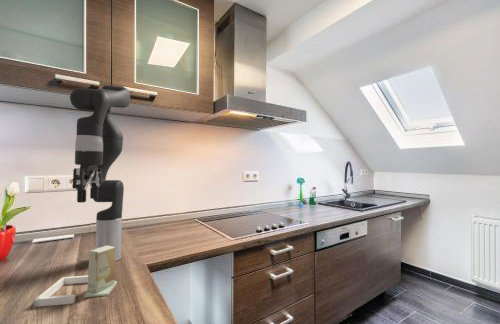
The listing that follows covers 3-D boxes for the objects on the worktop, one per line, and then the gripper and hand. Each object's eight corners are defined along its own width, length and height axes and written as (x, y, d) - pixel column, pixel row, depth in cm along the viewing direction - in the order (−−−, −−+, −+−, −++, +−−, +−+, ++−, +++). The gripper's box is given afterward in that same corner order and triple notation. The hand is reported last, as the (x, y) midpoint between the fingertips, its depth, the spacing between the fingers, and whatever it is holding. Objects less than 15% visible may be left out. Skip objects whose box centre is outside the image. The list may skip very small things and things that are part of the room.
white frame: (62, 283, 79) (62, 277, 79) (94, 280, 81) (94, 274, 81) (34, 307, 65) (34, 299, 65) (73, 303, 67) (73, 296, 67)
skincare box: (96, 293, 71) (97, 252, 72) (86, 290, 73) (87, 250, 73) (115, 283, 77) (116, 246, 78) (106, 281, 79) (107, 244, 79)
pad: (95, 284, 78) (95, 282, 78) (117, 282, 79) (117, 280, 79) (83, 297, 70) (83, 295, 70) (107, 295, 72) (107, 293, 72)
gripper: (87, 151, 83) (85, 197, 83) (63, 148, 69) (62, 204, 69) (110, 151, 84) (109, 197, 84) (92, 149, 71) (90, 203, 70)
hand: (88, 200), depth 76 cm, fingers open, 8 cm apart
